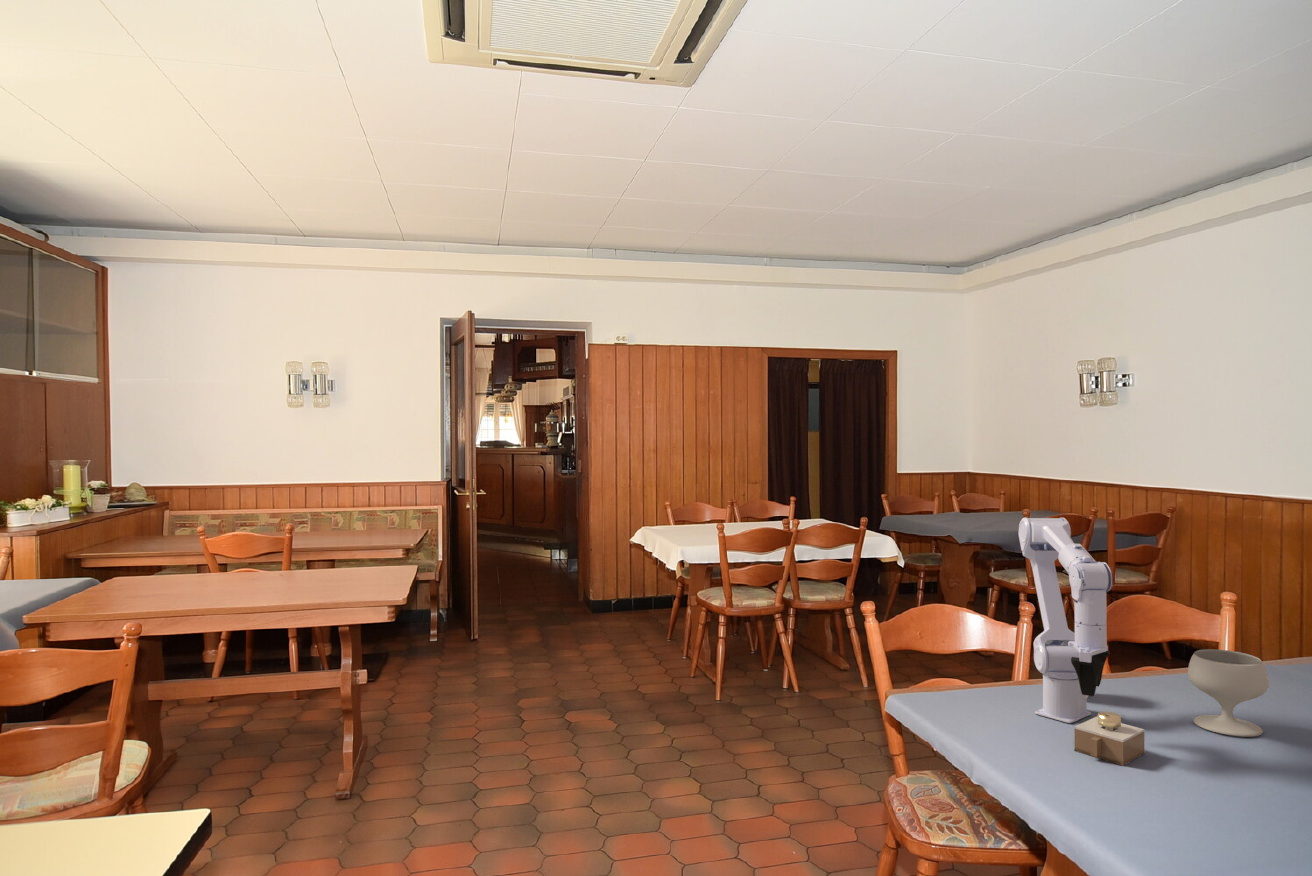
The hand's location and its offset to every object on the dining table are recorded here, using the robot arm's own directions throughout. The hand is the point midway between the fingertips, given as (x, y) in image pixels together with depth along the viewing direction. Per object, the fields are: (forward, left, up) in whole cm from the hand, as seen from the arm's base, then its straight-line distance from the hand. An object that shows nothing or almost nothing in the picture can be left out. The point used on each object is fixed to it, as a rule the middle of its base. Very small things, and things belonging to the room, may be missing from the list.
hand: (1090, 690), depth 165 cm
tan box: (+3, +5, -10) cm, 12 cm away
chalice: (-30, +14, -11) cm, 35 cm away
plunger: (+3, +5, -9) cm, 11 cm away
